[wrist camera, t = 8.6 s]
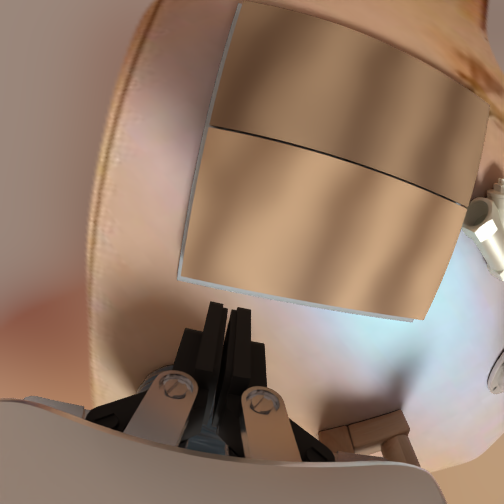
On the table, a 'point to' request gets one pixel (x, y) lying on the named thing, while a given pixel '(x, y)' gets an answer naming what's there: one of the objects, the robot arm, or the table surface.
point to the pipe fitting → (488, 227)
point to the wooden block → (374, 438)
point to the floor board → (350, 100)
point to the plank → (316, 228)
